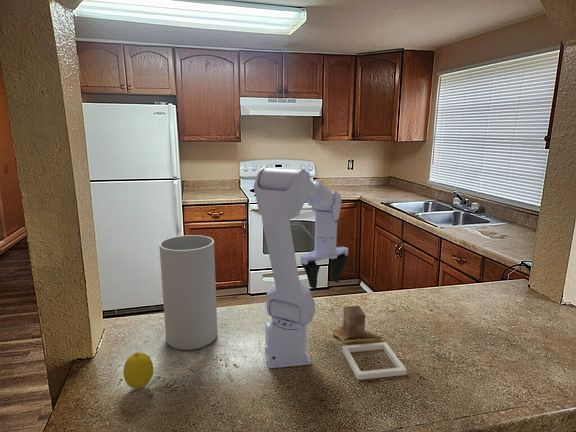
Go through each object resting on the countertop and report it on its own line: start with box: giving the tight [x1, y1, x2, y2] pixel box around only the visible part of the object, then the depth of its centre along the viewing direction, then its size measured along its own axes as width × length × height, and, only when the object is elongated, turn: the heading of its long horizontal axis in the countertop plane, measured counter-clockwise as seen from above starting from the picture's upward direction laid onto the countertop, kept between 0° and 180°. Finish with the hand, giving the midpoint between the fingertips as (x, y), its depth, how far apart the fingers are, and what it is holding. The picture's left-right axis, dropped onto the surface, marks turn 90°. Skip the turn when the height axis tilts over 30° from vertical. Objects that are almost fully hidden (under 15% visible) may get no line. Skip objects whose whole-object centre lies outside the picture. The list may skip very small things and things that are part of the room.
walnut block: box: [342, 305, 366, 338], centre depth 96 cm, size 4×5×6 cm
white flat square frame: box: [341, 341, 408, 381], centre depth 86 cm, size 11×11×1 cm
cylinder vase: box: [158, 234, 218, 351], centre depth 93 cm, size 12×12×25 cm
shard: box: [331, 324, 383, 344], centre depth 96 cm, size 11×8×2 cm
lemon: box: [123, 351, 154, 390], centre depth 77 cm, size 6×6×8 cm
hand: (324, 284), depth 103 cm, fingers open, 7 cm apart
